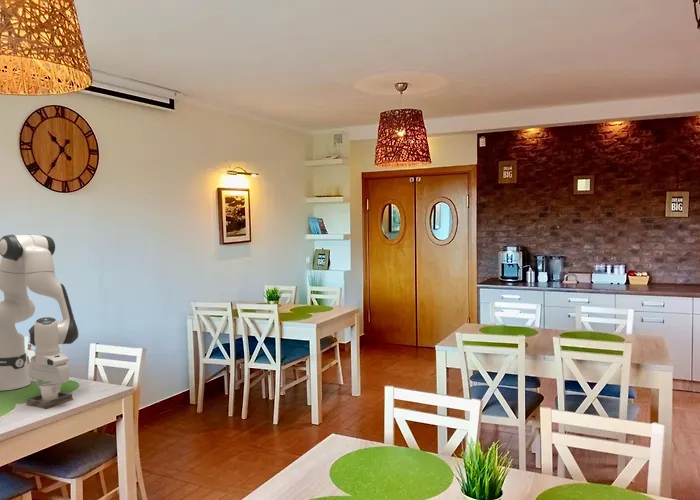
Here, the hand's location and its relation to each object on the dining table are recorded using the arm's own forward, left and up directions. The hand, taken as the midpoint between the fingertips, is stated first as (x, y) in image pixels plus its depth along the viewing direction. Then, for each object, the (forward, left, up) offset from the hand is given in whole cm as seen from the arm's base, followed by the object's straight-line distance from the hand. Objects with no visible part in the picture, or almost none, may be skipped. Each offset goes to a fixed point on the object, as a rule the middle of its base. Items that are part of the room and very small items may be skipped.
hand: (49, 390), depth 224 cm
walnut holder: (0, 0, -5) cm, 5 cm away
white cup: (0, 0, -4) cm, 4 cm away
